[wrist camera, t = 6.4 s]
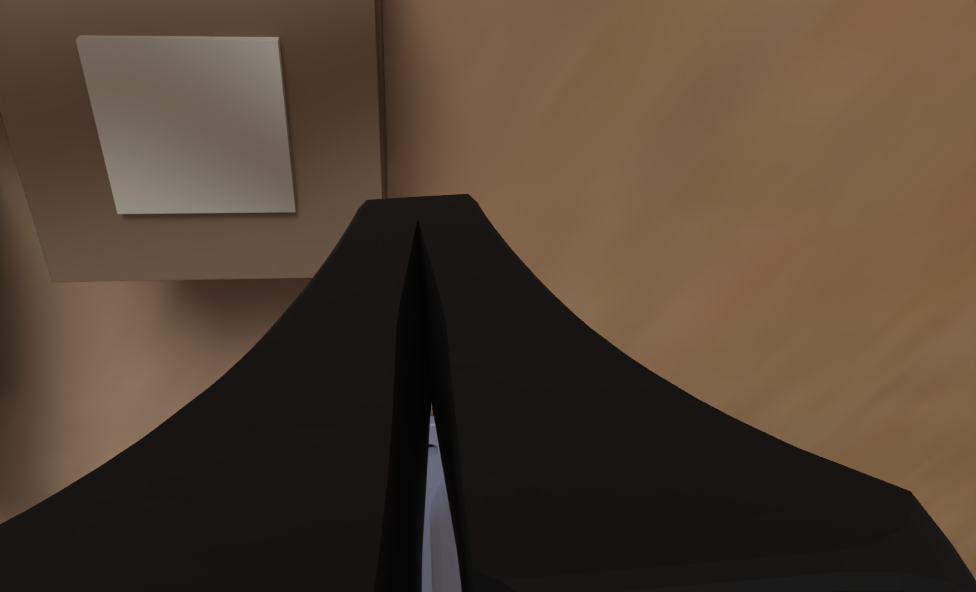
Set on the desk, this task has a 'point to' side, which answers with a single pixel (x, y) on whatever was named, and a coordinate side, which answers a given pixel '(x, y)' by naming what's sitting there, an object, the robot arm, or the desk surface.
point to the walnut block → (193, 132)
